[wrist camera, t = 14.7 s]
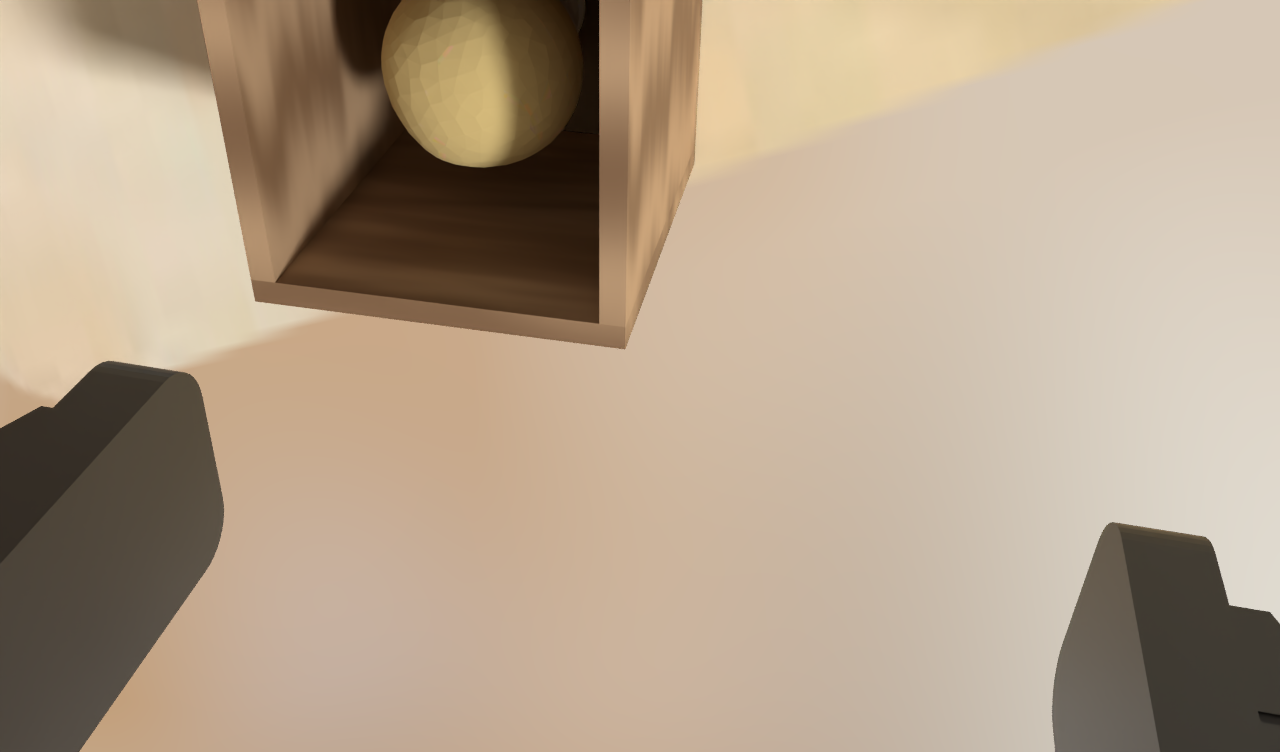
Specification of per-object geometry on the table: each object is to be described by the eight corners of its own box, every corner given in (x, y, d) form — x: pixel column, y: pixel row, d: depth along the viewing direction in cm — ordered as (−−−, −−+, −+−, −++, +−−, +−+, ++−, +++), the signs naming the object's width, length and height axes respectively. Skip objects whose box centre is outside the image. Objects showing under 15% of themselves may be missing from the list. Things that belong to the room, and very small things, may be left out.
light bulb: (497, 98, 48) (407, 219, 40) (428, -63, 45) (315, 33, 37) (649, 55, 45) (587, 173, 37) (587, -118, 42) (505, -29, 34)
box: (366, -191, 42) (179, -89, 32) (710, -168, 41) (631, -53, 30) (399, 132, 49) (255, 301, 39) (694, 163, 48) (625, 348, 37)
